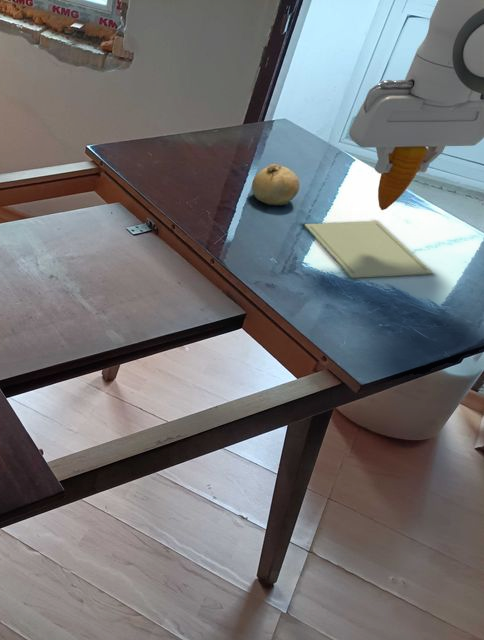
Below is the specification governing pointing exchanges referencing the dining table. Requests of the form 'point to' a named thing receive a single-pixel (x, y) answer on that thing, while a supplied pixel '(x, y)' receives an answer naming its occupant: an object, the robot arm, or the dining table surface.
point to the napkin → (366, 249)
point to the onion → (275, 185)
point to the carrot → (399, 173)
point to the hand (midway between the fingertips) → (399, 171)
